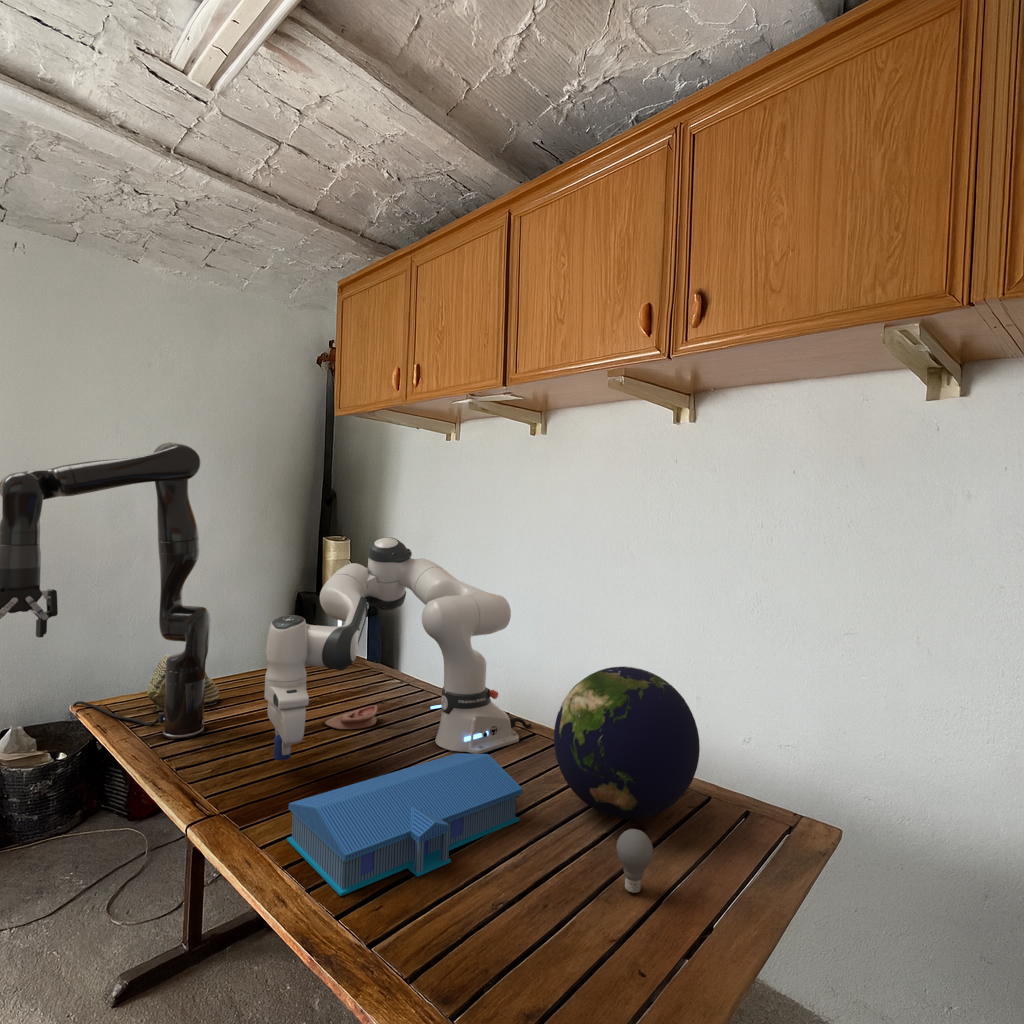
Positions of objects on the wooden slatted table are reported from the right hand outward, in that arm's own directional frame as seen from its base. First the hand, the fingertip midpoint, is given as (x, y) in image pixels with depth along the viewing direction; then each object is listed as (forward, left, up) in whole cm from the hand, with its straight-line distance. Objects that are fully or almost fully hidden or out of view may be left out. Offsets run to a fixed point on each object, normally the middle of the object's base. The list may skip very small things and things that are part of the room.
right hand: (283, 749), depth 143 cm
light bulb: (-41, +70, -6) cm, 82 cm away
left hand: (+51, -25, +24) cm, 61 cm away
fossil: (+15, -59, -6) cm, 61 cm away
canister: (0, 0, -2) cm, 2 cm away
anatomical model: (-24, -25, -6) cm, 35 cm away
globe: (-58, +49, -6) cm, 76 cm away
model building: (-16, +37, -6) cm, 41 cm away
